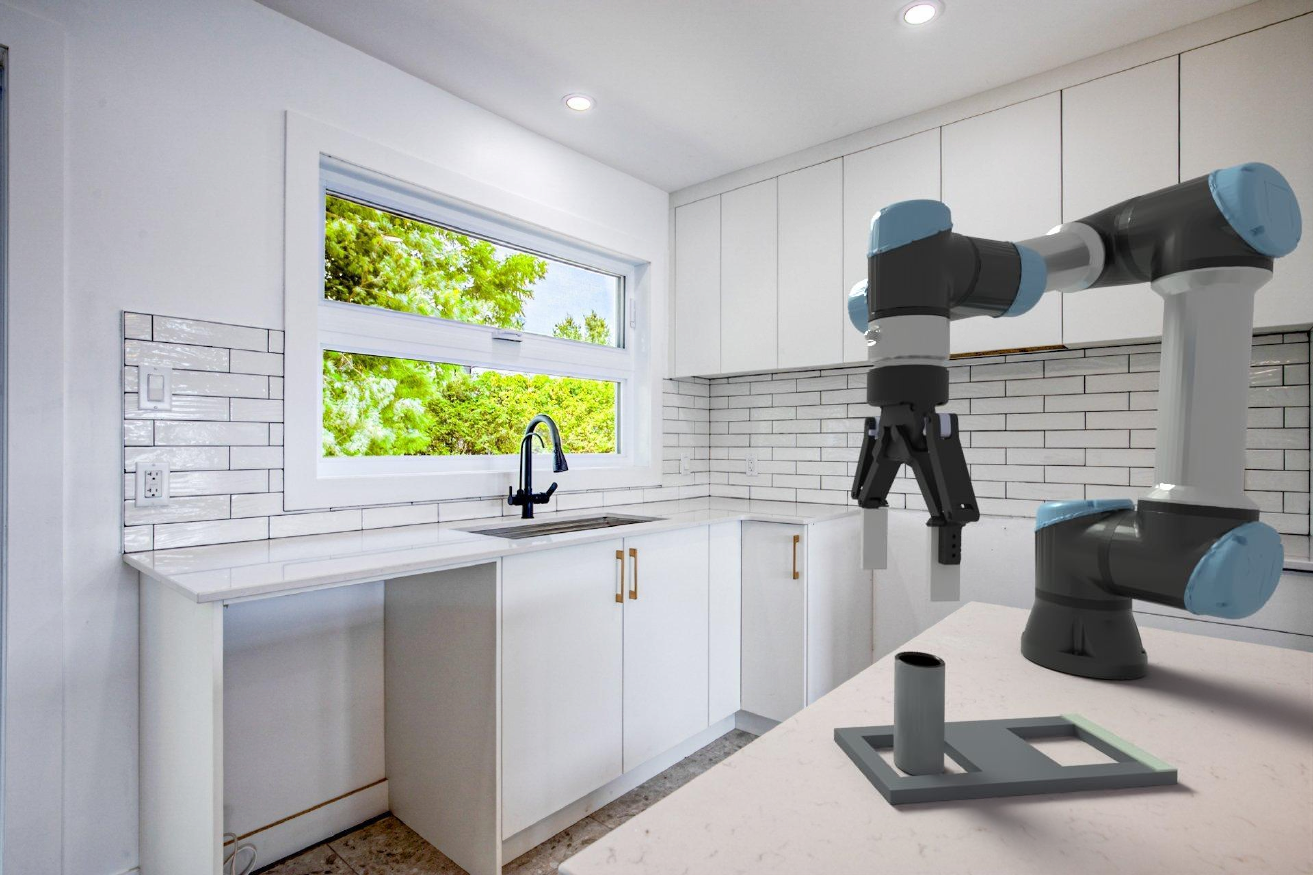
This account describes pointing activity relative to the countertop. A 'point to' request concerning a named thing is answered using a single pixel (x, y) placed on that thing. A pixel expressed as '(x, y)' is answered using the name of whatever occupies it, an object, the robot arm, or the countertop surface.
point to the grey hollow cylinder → (919, 713)
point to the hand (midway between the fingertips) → (904, 583)
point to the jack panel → (1005, 760)
